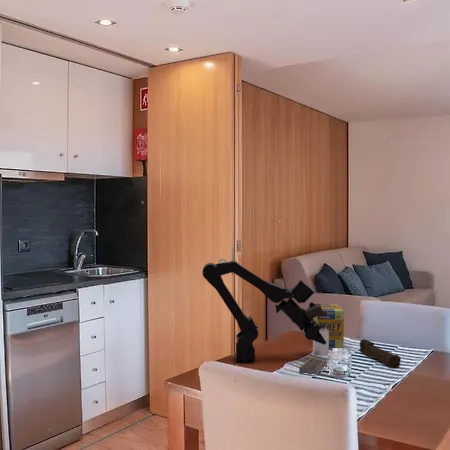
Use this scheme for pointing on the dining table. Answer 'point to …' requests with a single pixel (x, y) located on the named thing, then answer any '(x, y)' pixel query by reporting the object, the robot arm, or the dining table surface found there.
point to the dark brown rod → (379, 354)
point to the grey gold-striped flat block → (313, 366)
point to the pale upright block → (321, 348)
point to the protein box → (332, 324)
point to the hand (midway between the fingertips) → (324, 342)
